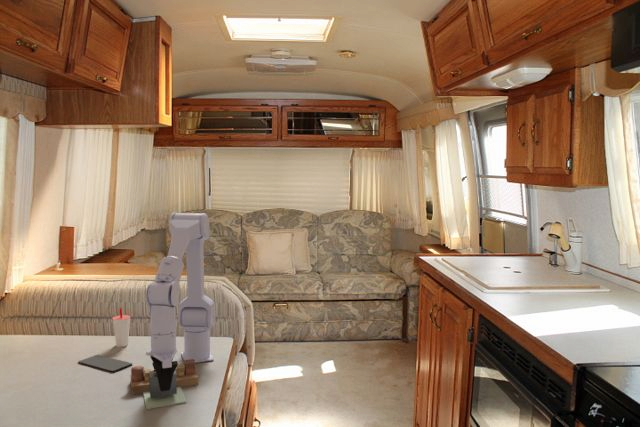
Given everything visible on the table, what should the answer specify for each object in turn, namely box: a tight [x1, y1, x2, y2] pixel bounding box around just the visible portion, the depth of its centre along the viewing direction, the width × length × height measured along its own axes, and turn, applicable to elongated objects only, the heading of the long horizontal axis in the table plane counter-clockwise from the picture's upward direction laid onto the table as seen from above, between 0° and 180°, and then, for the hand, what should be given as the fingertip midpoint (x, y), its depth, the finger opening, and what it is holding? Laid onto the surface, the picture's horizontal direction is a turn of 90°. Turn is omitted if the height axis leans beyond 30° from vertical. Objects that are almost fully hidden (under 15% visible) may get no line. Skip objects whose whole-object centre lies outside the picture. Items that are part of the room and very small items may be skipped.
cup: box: [111, 307, 131, 348], centre depth 161 cm, size 5×5×12 cm
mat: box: [142, 387, 187, 410], centre depth 124 cm, size 9×9×1 cm
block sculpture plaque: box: [130, 359, 199, 395], centre depth 132 cm, size 8×16×5 cm, turn 113°
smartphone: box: [77, 354, 133, 374], centre depth 145 cm, size 7×1×15 cm
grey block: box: [149, 369, 177, 398], centre depth 123 cm, size 4×6×6 cm, turn 113°
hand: (164, 386), depth 124 cm, fingers closed on grey block, 4 cm apart
